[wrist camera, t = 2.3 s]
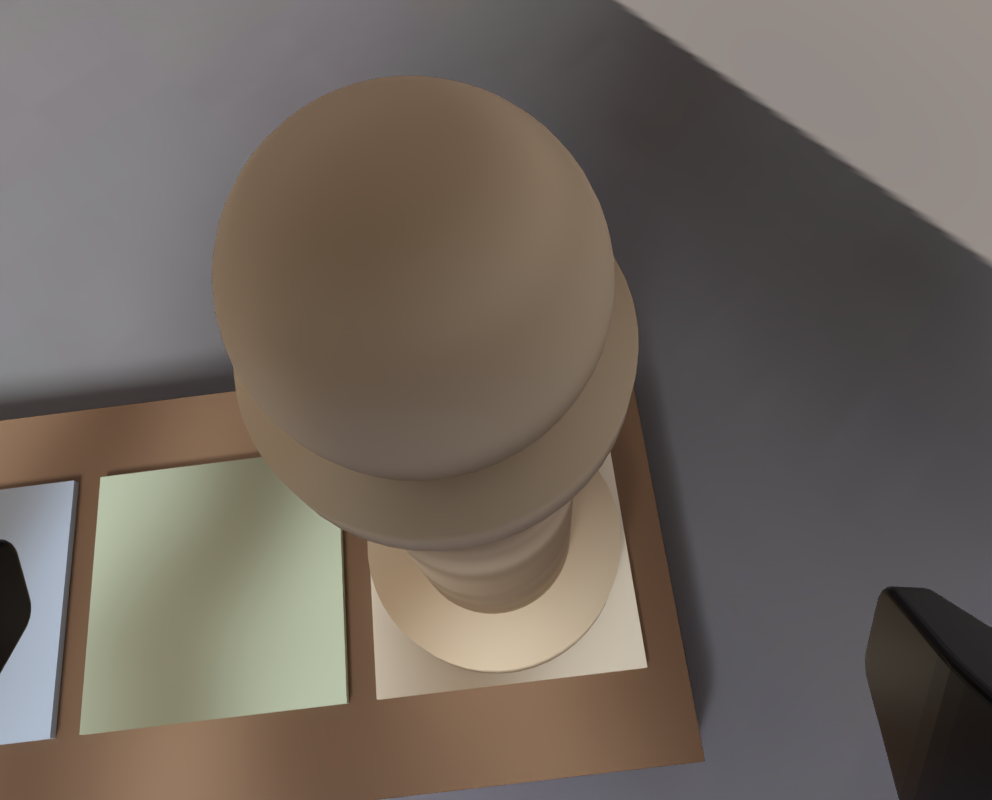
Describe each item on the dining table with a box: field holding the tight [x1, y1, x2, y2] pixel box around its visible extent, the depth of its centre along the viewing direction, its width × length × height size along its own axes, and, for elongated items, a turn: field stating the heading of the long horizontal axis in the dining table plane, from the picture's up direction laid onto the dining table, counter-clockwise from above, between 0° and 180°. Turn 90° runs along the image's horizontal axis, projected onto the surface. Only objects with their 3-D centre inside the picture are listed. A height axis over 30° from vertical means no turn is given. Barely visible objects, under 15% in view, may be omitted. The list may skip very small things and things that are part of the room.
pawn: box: [212, 76, 639, 674], centre depth 11 cm, size 5×5×13 cm
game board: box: [0, 385, 705, 800], centre depth 18 cm, size 25×9×2 cm, turn 96°
